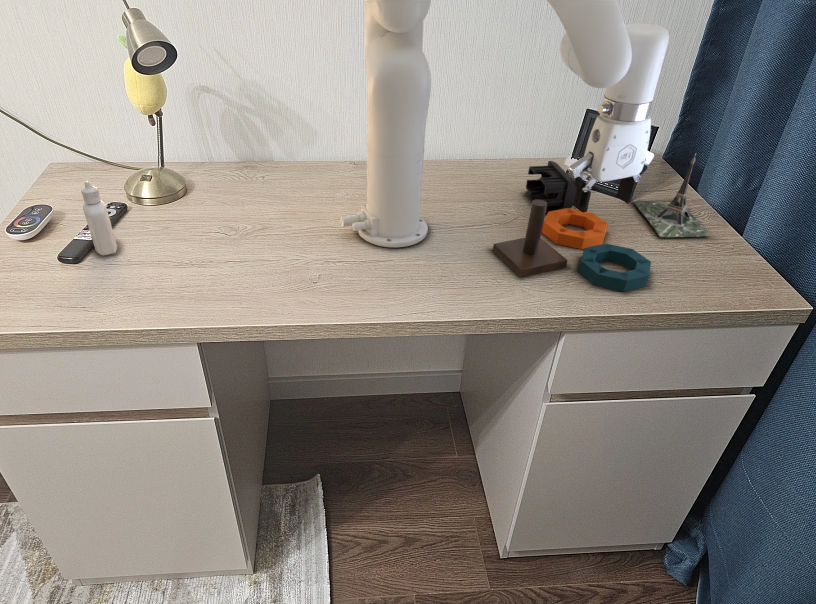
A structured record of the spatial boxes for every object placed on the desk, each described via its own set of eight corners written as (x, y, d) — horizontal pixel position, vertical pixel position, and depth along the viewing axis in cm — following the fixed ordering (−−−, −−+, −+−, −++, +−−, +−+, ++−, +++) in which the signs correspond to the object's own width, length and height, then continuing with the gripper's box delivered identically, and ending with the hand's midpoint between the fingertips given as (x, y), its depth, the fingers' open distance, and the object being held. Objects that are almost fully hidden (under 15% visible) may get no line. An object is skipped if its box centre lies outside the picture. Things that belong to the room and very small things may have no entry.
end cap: (576, 213, 119) (584, 180, 114) (541, 215, 118) (548, 182, 113) (556, 191, 126) (563, 159, 122) (523, 193, 125) (529, 161, 121)
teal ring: (607, 295, 97) (611, 284, 95) (566, 262, 104) (569, 250, 103) (660, 282, 100) (664, 271, 99) (617, 251, 108) (620, 240, 106)
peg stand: (520, 277, 100) (531, 219, 94) (492, 251, 106) (500, 195, 100) (565, 267, 103) (579, 210, 96) (535, 242, 109) (547, 187, 103)
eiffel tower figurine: (629, 202, 123) (649, 136, 115) (678, 202, 124) (701, 137, 116) (659, 239, 112) (683, 169, 103) (713, 239, 112) (741, 169, 104)
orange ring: (566, 252, 107) (569, 241, 105) (532, 224, 115) (534, 214, 113) (616, 242, 110) (619, 231, 109) (579, 215, 118) (581, 205, 117)
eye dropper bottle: (87, 256, 101) (65, 188, 94) (99, 239, 106) (79, 173, 98) (113, 256, 101) (94, 189, 94) (124, 240, 106) (107, 174, 98)
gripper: (596, 122, 95) (574, 222, 105) (683, 109, 100) (653, 205, 111) (567, 108, 100) (549, 204, 111) (651, 95, 105) (626, 188, 116)
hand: (601, 204), depth 111 cm, fingers open, 9 cm apart
